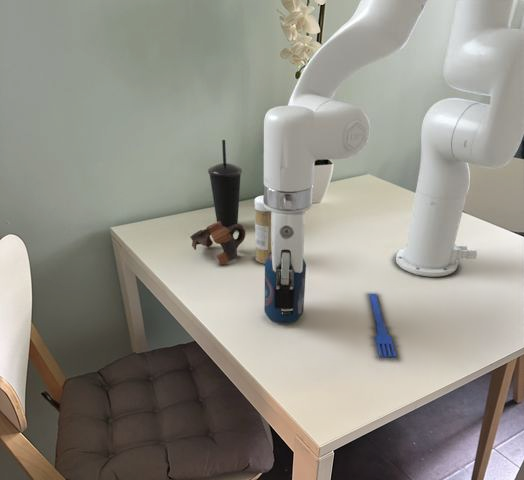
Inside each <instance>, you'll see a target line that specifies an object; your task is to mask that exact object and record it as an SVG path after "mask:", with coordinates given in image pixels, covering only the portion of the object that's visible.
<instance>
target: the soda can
mask: <svg viewBox="0 0 524 480" xmlns="http://www.w3.org/2000/svg"><path fill="white" fill-rule="evenodd" d="M281 256H282V255H281ZM279 269H280V270H281V269H282V266H280V263H279ZM289 270H292V264H291V266H289ZM306 274H307V263H306V261H305V259H304V258H303V271H302V272H301V273H299V272H295V271H294V278H293V287H295V288H294V307H293V309H276V308H275V307H274V306H275V286H276V282H277V271H276V272H274V271H273V265H272V251H271V252H270V253H269V255H268V258H267V260H266V262H265V264H264V302H263V303H264V306H263V307H264V313H265V315H266V316H267V318H268V320H270V321H271V322H272V323H274V324H277V325H281V326H283V325H292V324H295V323H296V322H297V321H298V320H299V319H300V318H301V317H302V315H303V313H304V311H305V310H304V309H305V307H304V306H305V291H306V276H307V275H306ZM280 278H281V273H280ZM289 279H290V274H289Z"/></svg>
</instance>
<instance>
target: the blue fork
mask: <svg viewBox="0 0 524 480" xmlns="http://www.w3.org/2000/svg"><path fill="white" fill-rule="evenodd" d="M368 296H369V299H370V304H371V308H372V309H371V310H372V313H373V317H374V321H375V325H376V326H375V330H376V334H377V335H374V338H375V342H376V346H377V351H378V356H379V358H383V356H384V358H387V357H388V358H392V356H393V358H394V359H395V358H397V354H396V349H395V346H394V342H393V338H392V335H388V330H387V327H386V326H385V324H384V319H383V316H382V313H381V308H380V305H379V301H378V296H377V293H369V295H368ZM382 353H383V354H382ZM387 354H388V355H387Z"/></svg>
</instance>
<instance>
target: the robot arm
mask: <svg viewBox="0 0 524 480" xmlns="http://www.w3.org/2000/svg"><path fill="white" fill-rule="evenodd" d="M428 2H429V0H360V1H359V3H358V5H357V7H356V9H355V11H354V13H353V15H352V16H351V17H350V18H349V19H348V20H347V21H346V22H345V23H344V24H343V25H342V26H341V27H339V28H338V29H337V30H336V31H335V32H334V33H333V34H332V35H331V36H330V37H329V38H328V39H327V40H326V41H325V42H324V43H323V44H322V46H321V47H320V48H319V49H318V50H317V51H316V52H315V53H314V54H313V55H312V56H311V58H310V59H309V61H308V62H307V63H306V65H305V67H304V68H303V70H302V72H301V73H300V76H299V78H298V80H297V82H296V84H295V87H294V89H293V91H292V92H291V93H292V94H291V95H290V98H289V100H288V103H287V105H279V106H274V107H272V108H270V109H269V110H267V112H266V113H265V116H264V119H263V191H262V192H263V193H262V194H263V201H264V202H263V205H264V207H265V208H266V209H267V210H269V211H271V250H272V265H273V271H274V272H276V271H277V282H276V286H275V306H274V307H275V308H276V309H293V307H294V288H295V287H293V278H294V271H295V272H299V273H301V272H302V271H303V259H304V251H305V250H304V249H305V232H306V231H305V230H306V212H308V211H309V210H310V209H311V208H312V207H313V194H314V193H313V192H314V178H315V177H314V176H315V163H316V161H319V160H321V161H322V160H335V161H336V160H337V161H339V160H344V159H345V160H346V159H350V158H353V157H354V156H356V155H358V154H359V153H360V152H361V151H362V150H363V149H364V148H365V147H366V145H367V144H368V141H369V140H370V137H371V136H370V135H371V124H370V120H369V117H368V116H367V114H366V113H365V112H364V111H363V110H362V109H361V108H360V107H357V106H355V105H354V104H350V103H347V102H343V101H339V100H337V99H334V97H335V95H336V93H337V91H338V90H339V89H340V88H341V86H342V85H343V83H345V81H346V80H348V79H349V78H350V77H351V76H352V75H353V74H354V73H356V72H357V71H359V70H361V69H362V68H364V67H366V66H368V65H370V64H373V63H375V62H377V61H380V60H383V59H384V58H387V57H388V56H389V57H390V56H391V55H393V54H396V52H397V53H398V51H400V50H402V48H404V47H405V46H406V44H407V43H408V42H409V40H410V37H411V35H412V33H413V31H414V30H415V27H416V25H417V24H418V22H419V20H420V17H421V16H422V14H423V12H424V10H425V8H426V6H427V4H428ZM513 3H514V0H456V1H455V6H454V12H453V17H452V22H451V26H450V31H449V37H448V41H447V46H446V51H445V56H444V61H443V69H442V75H443V79H444V82H445V83H446V84H447V86H449V87H450V88H453V89H454V90H455V89H456V90H458V91H461V92H465V93H466V92H467V93H470V94H471V93H472V94H477V95H482V96H488V97H490V103H489V104H488V103H483V102H479V101H474V100H471V99H470V100H469V99H466V98H465V99H464V98H458V97H448V98H444V99H441V100H439V101H436V102H435V103H434V104H433V105H431V106H430V108H429V109H428V110H427V112H425V115H424V118H423V119H422V123H421V129H420V164H419V172H418V178H417V182H416V188H415V193H414V198H413V203H412V209H411V215H410V219H409V224H408V231H407V235H406V241H405V247H403V248H401V249H399V250H398V251H397V253H396V254H395V262H396V264H397V265H398V267H400V268H401V269H403V270H404V271H406V272H408V273H411V274H414V275H417V276H422V277H431V278H434V277H435V278H436V277H445V276H448V275H451V274H453V273H454V272H455V271H456V270H457V269H458V265H459V261H460V260H461V259H465V260H476V259H477V256H478V252H477V251H478V250H477V249H468V246H467V245H456V240H457V237H458V232H459V228H460V224H461V219H462V215H463V211H464V208H465V204H466V200H467V199H466V198H467V195H468V192H469V188H470V183H471V181H470V180H471V172H470V167H469V165H473V166H476V167H480V168H484V169H488V170H496V169H500V168H504V167H505V166H506V165H507V164H509V163H510V162H511V161H512V159H513V158H514V157H515V155H516V154H517V151H518V150H519V148H520V146H521V143H522V140H523V138H524V29H522V28H512V27H509V21H510V17H511V13H512V8H513V5H514V4H513ZM281 255H282V256H281ZM279 263H280V266H282V269H281V270H280V269H279ZM291 264H292V270H289V266H291ZM280 273H281V278H280ZM289 274H290V279H289Z"/></svg>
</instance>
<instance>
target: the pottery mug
mask: <svg viewBox="0 0 524 480" xmlns="http://www.w3.org/2000/svg"><path fill="white" fill-rule="evenodd" d="M236 231H237V232H238V235H237V238H235V237H234V235H235V232H236ZM246 233H247V232H246V229H245V227H244V226H243V225H242V224H239V223H238V224H235V225H232V226H230V227H224V226H222V224H221V222H217V221H216V222H214V223H212V224H210V225H208V226H207V227H206V228H205V229H200V230H198V231H196V232H195V233H193V234H192V235H191V236H190V237H189V238H190V239H191V241H192V242H191V247H192V248H193V250H195V251H196V250H197V246H198V245H202V246H204V247H206V248H210V247H212V245H213V244H214V243H215V244H217V245H220V246H221V248H222V250H223V251H222V252H221V253H219V254H218V255H216V259H217V261H218V263H219V265H220V266H222V265H223V266H224V265H225V264H227V263H229V262H231V261H233V260H235V259H236V258H237V257H238V248H239V246H240V245H241V244H242V243H243V242H244V241H245V239H246ZM211 238H212V239H211Z"/></svg>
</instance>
